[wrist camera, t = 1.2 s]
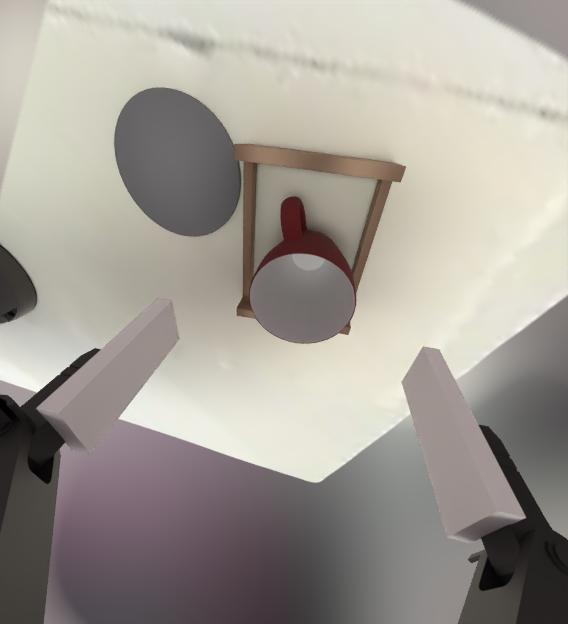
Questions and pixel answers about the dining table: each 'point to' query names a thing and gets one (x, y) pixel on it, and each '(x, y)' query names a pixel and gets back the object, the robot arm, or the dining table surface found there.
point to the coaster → (177, 161)
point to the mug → (302, 283)
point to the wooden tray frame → (316, 163)
